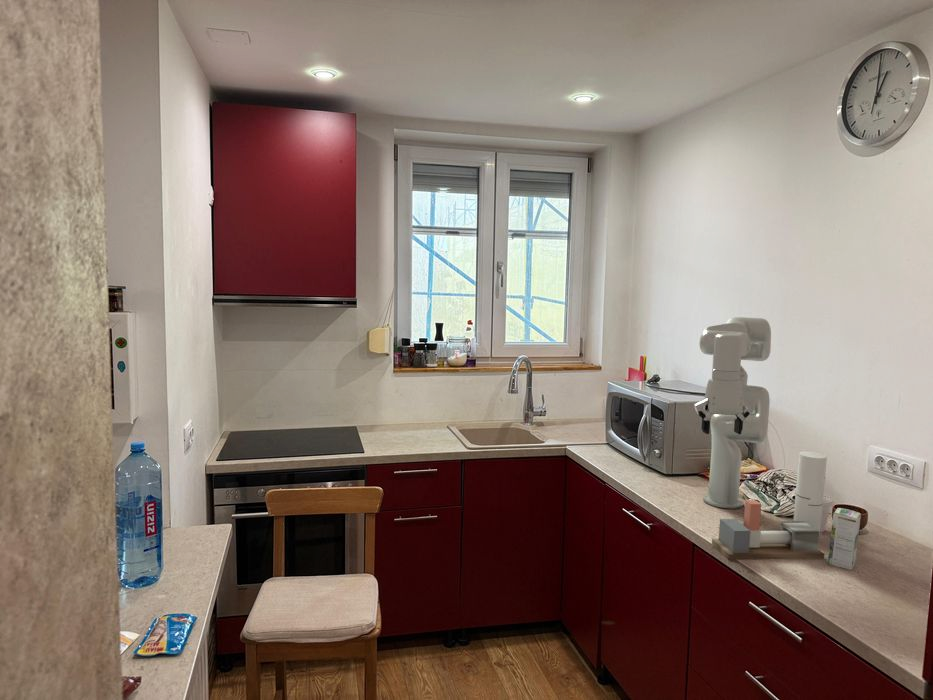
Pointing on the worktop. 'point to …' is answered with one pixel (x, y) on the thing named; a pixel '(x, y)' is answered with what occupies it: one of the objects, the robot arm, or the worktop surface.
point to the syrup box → (844, 538)
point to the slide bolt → (753, 525)
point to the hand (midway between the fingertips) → (721, 433)
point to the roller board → (782, 545)
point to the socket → (734, 535)
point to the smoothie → (825, 512)
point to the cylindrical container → (810, 488)
